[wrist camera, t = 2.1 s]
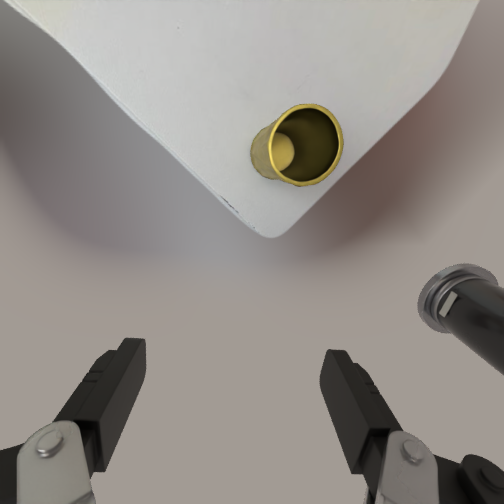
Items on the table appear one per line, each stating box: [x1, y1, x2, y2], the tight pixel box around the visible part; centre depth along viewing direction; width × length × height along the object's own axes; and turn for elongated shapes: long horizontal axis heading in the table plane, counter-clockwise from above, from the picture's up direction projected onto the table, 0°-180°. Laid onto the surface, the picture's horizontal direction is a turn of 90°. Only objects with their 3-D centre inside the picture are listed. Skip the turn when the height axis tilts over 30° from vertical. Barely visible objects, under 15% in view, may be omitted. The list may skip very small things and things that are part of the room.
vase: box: [250, 104, 344, 187], centre depth 24 cm, size 6×6×14 cm
